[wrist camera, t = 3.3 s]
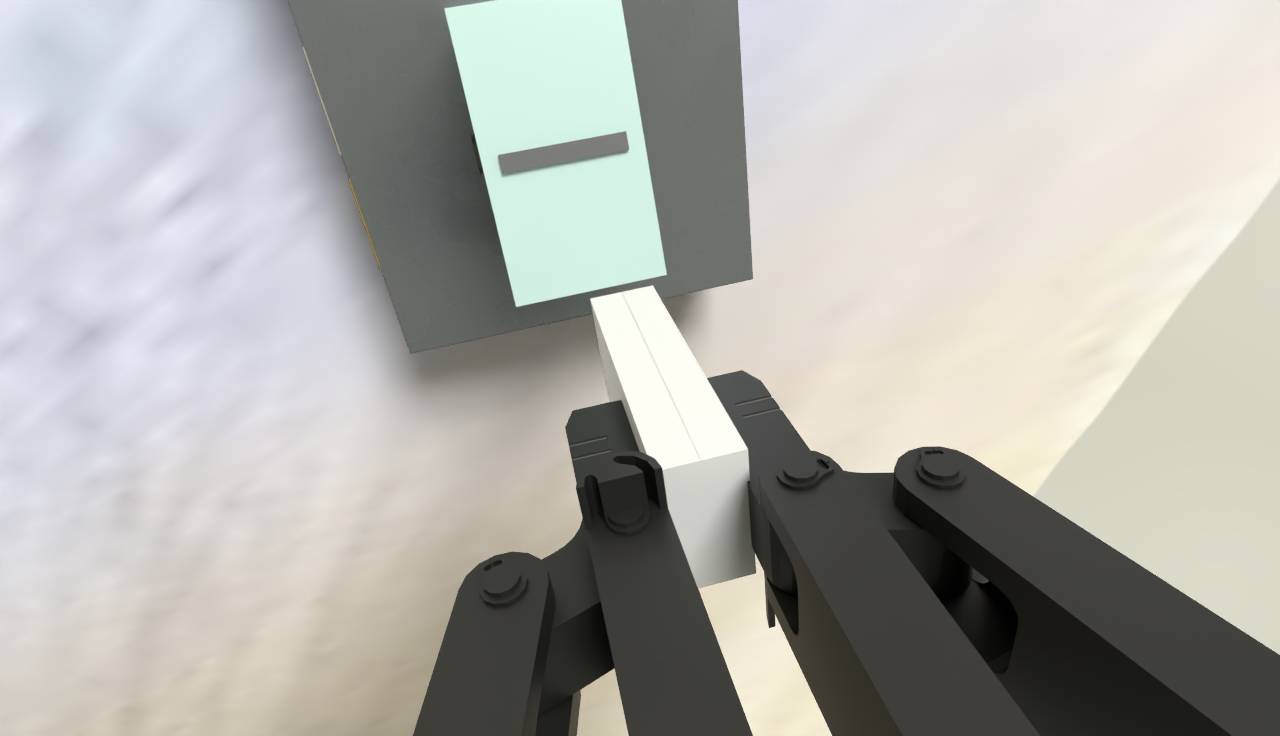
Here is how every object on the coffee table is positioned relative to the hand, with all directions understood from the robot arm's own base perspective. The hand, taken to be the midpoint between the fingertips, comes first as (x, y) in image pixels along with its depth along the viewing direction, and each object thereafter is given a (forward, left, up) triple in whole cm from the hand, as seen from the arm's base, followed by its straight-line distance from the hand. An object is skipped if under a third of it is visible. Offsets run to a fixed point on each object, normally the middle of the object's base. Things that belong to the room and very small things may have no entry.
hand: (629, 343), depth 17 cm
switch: (0, +3, -6) cm, 7 cm away
